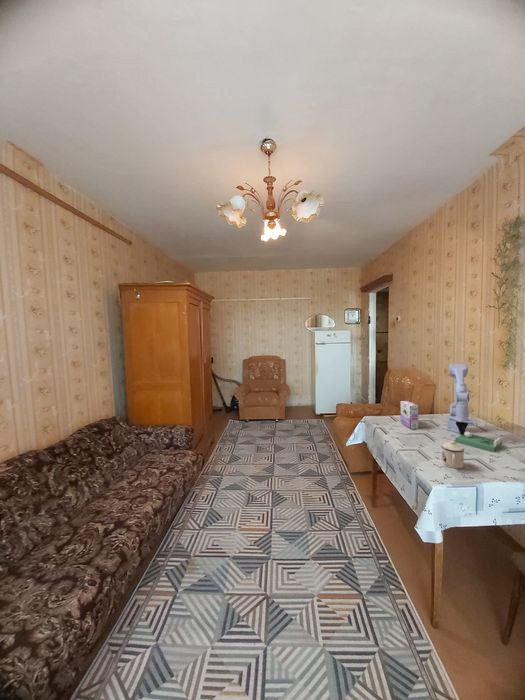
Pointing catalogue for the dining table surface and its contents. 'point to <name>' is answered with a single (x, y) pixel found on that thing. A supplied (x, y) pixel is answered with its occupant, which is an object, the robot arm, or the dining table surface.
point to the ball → (468, 434)
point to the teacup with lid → (452, 455)
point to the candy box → (409, 414)
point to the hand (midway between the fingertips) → (462, 434)
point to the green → (480, 442)
